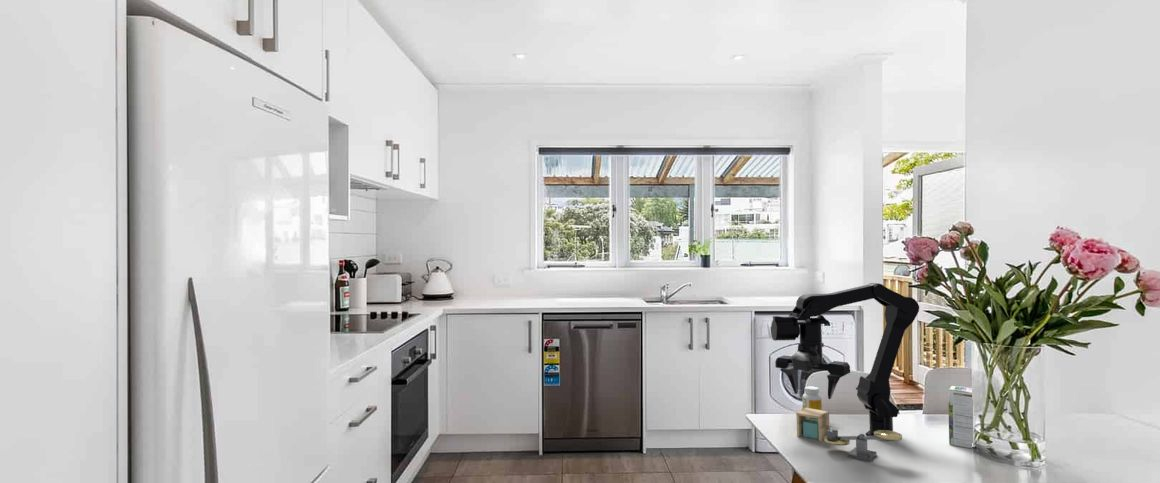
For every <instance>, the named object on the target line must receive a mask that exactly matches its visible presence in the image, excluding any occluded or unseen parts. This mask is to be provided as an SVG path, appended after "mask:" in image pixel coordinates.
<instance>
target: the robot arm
mask: <svg viewBox="0 0 1160 483" xmlns="http://www.w3.org/2000/svg"><path fill="white" fill-rule="evenodd" d="M872 299H874V300H875V301H876V302H877V303H878V304H880V305H881V306H883V307H885V308H884V309H885V310H884V319H885V327H884V331H883V333H882V336H881V339H880V342H879V346H878V349H877V352H876V354H875V358H874V361H873V364H872V367H871V370H870V372H869V373H868V374H867V376H865V377H864V376H862V375H861V376H860V377H859V380H858V385H857V387H855V390H857V392H856V397H857V398H858V400H859V401H860V402H861V403H862V404H863V406H864V409H866V410H868V411H869V412H868V416H869V417H868V418H869V430H868V431H866V432H865V436H874V431H877V430H889V431H894V419H893V418H897V417H898V416H899V413H900V412H899V411H900V409H899V408H898V407H897V406H896V405H895V404H894V403H893V402H892V401H891V400H890V399H891V398H890V396H891V384H890V378H891V374H892V371H893V370H894V369H893V368H894V366H895V363H896V359H897V355H898V353H899V351H900V348H901V344H902V342H903V338H904V334H905V332H906V330H907V329H908V328H909V327H910V326H911V325H912V323H914V321H915V319H916V317H917V316H918V314H919V312H920V305H919V303H918V301H917V300H916V299H915V298H914V297H911V296H904V295H902V294H900V293H898V292H896V291H894V290H892V289H889V288H888V287H886V286H885V285H883V284H882V283H879V282H870V283H868V284H866V285H860V286H857V287H856V286H855V287H851V288H846V289H843V290H839V291H834V292H831V293H812V294H811V293H809V294H807V293H806V294H802V295H800V296H798V298H797V300H796V302H795V307H794V308H793V309H792V310H791V312H790V313H789V315H788V316H787V315H785V316H779V315H773V316H772V321H771V325H770V335H771V338H772V339H771V340H773V341H796V339H798V338H799V343H798V345H797V351H795V353H794V354H793V355H782V356H779V357H777V358H776V359H775V363H774V364H775V367H774V368H777V369H779V370H780V371H781V372H783V373H784V374H785V375H786V376H787V378H788V381H789V382H790V385H791V387H792V389H793V392H794V394H795V395H797V394H798V392H799V371H804V372H810V371H812V370H813V369H814V370H821V371H827V372H828V373H829V374H827V375H826V377H827V381H828V383H827V384H828V385H827V397H828V398H827V399H828V400H831V399H832V398H833V395H834V392H835V390H836V387H837V384H838V382H839V381H840V379H841V378H842V377H845V376H846V375H849V374H850V373H851V366H850V364H849V362H846V361H840V360H833V361H831V362H828V363H826V362H825V357H823V348H824V346H825V345H824V343H823V339H822V338H823V335H822V334H823V333H822V332H823V331H822V330H823V329H822V325H829V324H830V321H829V320H827V319H826V318H825V317H824V315H823V314H826V313H828V312H829V311H831V310H833V309H835V308H838V307H842V306H846V305H851V304H856V303H859V302H864V301H867V300H872Z"/></svg>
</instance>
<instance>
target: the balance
mask: <svg viewBox="0 0 1160 483" xmlns="http://www.w3.org/2000/svg"><path fill="white" fill-rule="evenodd" d="M902 439H903V434H901V433H899V432H898V431H897V432H896V431H894V430H893V431H889V430H877V431H874V436H867V435H866V434H864V433H860V434H858V435H839V432H838V430H837V429H833V428H830V429H827V436H825V437H824V439H823V441H824V442H825V443H826V444H829V445H832V446H833V445H834V446H848V445H850V443H851V441H852V440H853V441H855V447H854V448H853V449H851V450H849V452H848V453H846V455H847V458H851V459H853V460H854V459H856V460H860V461H864V462H868V463H870V461H872V460H874V458H875V457H876V456H877V454H878V452H877V451H875V450H870V449H869V450H868V441H870V440H871V441H878V440H879V441H880V440H881V441H885V440H886V441H894V442H895V441H901V440H902Z"/></svg>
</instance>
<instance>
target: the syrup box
mask: <svg viewBox="0 0 1160 483" xmlns="http://www.w3.org/2000/svg"><path fill="white" fill-rule="evenodd" d="M972 388H973V387H967V386H960V385H959V386H958V385H957V386H956V385H951V387H949V389H948V396H947V397H948V398H947V399H948V444H949V445H950V446H955V447H961V448H967V449H973V448H972V443H973V400H972Z"/></svg>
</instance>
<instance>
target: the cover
mask: <svg viewBox="0 0 1160 483" xmlns="http://www.w3.org/2000/svg"><path fill="white" fill-rule="evenodd" d="M795 414H796V436H797V437H801V436H803V421H805V420H807V419H808V417H811V418H817V419H818V433H819V439H818V441H819V442H822V441H824V437H825V436H827V429H831V428H830V411H827V410H816V409H810V408H804V409H803V408H802V409H800V410H799V411H797V412H796V413H795Z"/></svg>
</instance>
